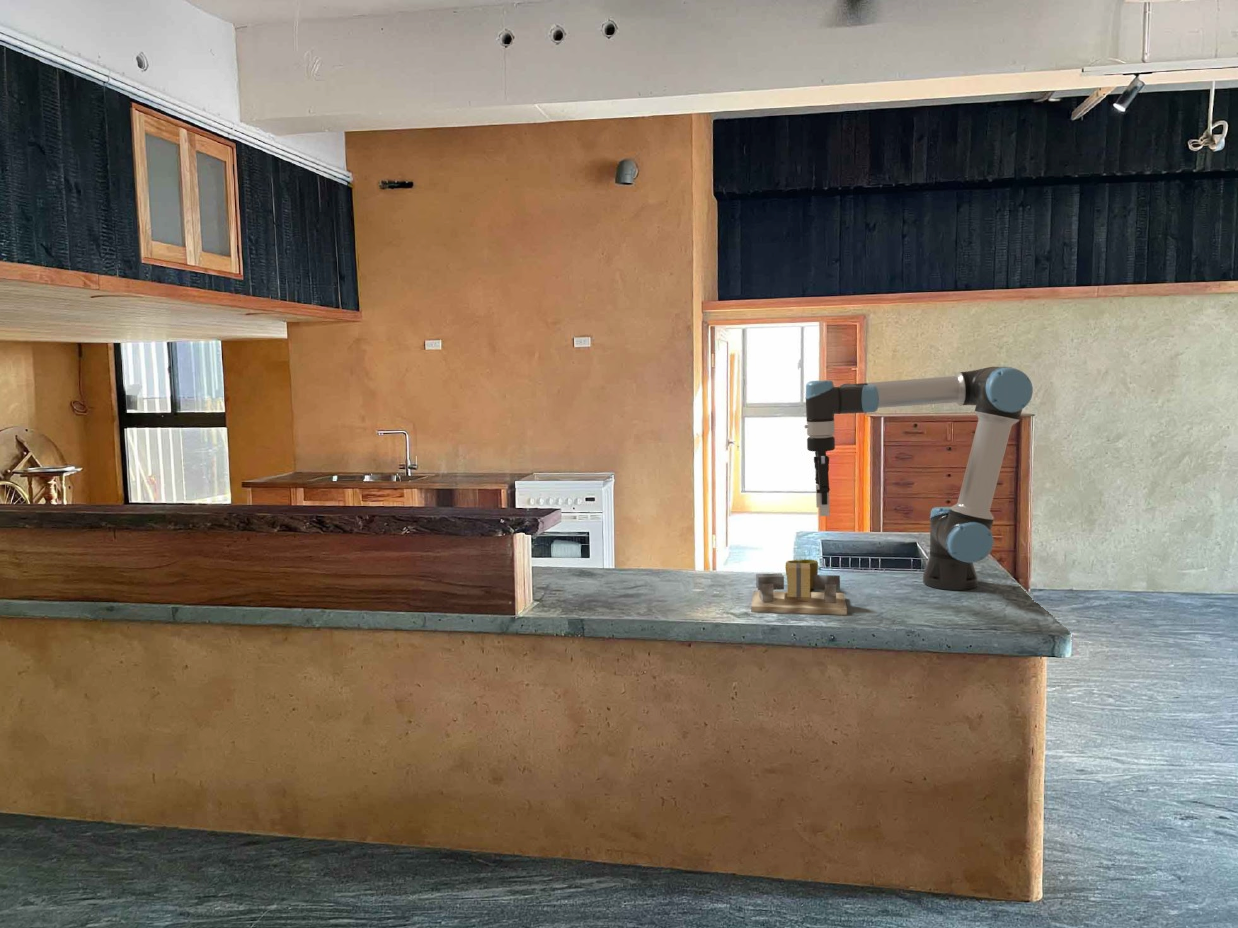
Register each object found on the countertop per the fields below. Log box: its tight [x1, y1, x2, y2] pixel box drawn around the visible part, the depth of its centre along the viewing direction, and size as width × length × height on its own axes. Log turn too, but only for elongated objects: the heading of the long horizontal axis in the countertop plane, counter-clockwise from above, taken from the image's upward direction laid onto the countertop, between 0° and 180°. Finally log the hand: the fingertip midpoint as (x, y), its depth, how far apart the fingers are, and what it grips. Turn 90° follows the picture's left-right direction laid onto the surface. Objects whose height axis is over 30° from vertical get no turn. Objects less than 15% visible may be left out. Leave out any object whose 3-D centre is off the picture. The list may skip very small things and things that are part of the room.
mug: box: [785, 558, 819, 590], centre depth 265 cm, size 12×10×10 cm
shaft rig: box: [750, 572, 848, 616], centre depth 246 cm, size 25×16×8 cm, turn 79°
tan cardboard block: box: [786, 563, 811, 597], centre depth 246 cm, size 6×6×8 cm
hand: (822, 511), depth 251 cm, fingers open, 13 cm apart
